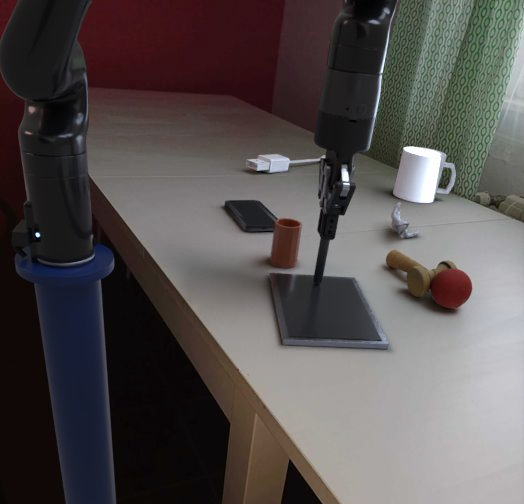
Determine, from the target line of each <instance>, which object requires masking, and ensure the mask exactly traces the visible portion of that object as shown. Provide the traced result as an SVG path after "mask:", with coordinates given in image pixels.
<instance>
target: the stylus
mask: <svg viewBox="0 0 524 504" xmlns="http://www.w3.org/2000/svg"><path fill="white" fill-rule="evenodd" d="M334 206H336V205H334ZM319 238H320V237H319ZM330 242H331V240H323V239H321V238H320V239H319V244H318V250H317V256H316V262H315V267H314V272H313V275H314V278H313V282H314V283H315V284H321V282H322V279H323V276H324V273H325V267H326V262H327V259H328V258H327V257H328V252H329V246H330Z"/></svg>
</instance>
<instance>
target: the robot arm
mask: <svg viewBox="0 0 524 504" xmlns="http://www.w3.org/2000/svg"><path fill="white" fill-rule="evenodd" d="M93 1H94V0H17V2H16V4H15V7H14V9H13V11H12V13H11V15H10V17H9V20H8V22H7V24H6V26H5V28H4V31H3V33H2V35H1V38H0V74H1V76H2V79H3V81H4V82H5V84H6V86H7V87H8V89H9V90H10V91H11V92H12V93H13V94H14V95H15V96H17V97H18V98H20V99H22V100H24V113H23V116H22V120H21V122H20V124H19V127H18V131H17V134H18V135H17V136H18V144H19V151H20V159H21V164H22V171H23V178H24V185H25V193H26V200H25V202H24V203H23V212H24V219H21V220H20V221H19V223H18V224H17V225H16V226H15V227H14V228H13V230H12V231H11V235H12V237H11V240H10V241H11V242H10V243H11V247H12V248H13V250H14V252H16V254H17V253H18V254H19V255H20V256H21V257H22V258H24V257H25V256H27V254H26V253H25V252H24V251H23V250H22V249H23V248H25V247H29V248H30V255H31V262H32V263H39V264H41V265H44V266H47V267H52V268H74V267H79V266H83V265H86V264H88V263H90V262H92V261H93V260H94V258H95V250H94V245H95V247H96V248H97V246H96V243H97V239H96V237H95V236H94V229H93V216H92V215H93V213H92V202H91V188H90V177H89V165H88V163H89V161H88V149H87V147H88V146H87V137H88V132H89V131H88V130H89V125H90V123H89V122H90V111H89V109H90V108H89V84H88V83H89V82H88V70H87V63H86V58H85V54H84V51H83V48H82V46H81V44H80V42H79V41H78V38H79V35H80V31H81V29H82V25H83V23H84V20H85V17H86V14H87V12H88V10H89V8H90V6H91V5H92V3H93ZM398 2H399V0H342V1H341V7H340V10H339V13H338V15H337V17H336V18H335V20H334V22H333V25H332V29H331V33H330V38H329V44H328V51H327V58H326V66H325V71H324V76H323V78H322V83H321V85H320V92H319V93H320V94H319V100H318V108H317V114H316V121H315V128H314V136H313V143H314V144H315V145H316V146H317V147H318V148H321V149H323V150H326V151H325V154H324V155H325V158H320V157H319V158H320V161H318V165H319V168H318V193H317V197H318V198H317V199H318V200H319V202H318V206H319V208H320V210H319V216H318V221H317V222H318V223H317V229H316V231H317V233H318V234H319V238H321V239H323V240H330V241H333V240H335V238H336V235H337V229H338V225H339V217H340V216H345V215H346V213H347V210H348V209H349V205H350V203H351V201H352V198H353V196H354V194H355V191H356V189H357V186H356V182H352V180H353V179H354V176H355V171H356V166H355V165H354V156H355V155H357V154H358V153H359V154H363V153H366V152H367V151H369V149H370V147H371V142H372V138H373V133H374V128H375V123H376V117H377V112H378V108H379V101H380V97H381V92H382V91H381V90H382V77H383V72H384V67H385V63H386V62H385V61H386V56H387V53H388V46H389V40H390V32H391V25H392V21H393V17H394V15H395V11H396V8H397V4H398ZM334 205H336V206H334ZM21 247H23V248H21Z"/></svg>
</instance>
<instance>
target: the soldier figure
mask: <svg viewBox="0 0 524 504" xmlns="http://www.w3.org/2000/svg"><path fill="white" fill-rule="evenodd" d="M401 204H402V203H401V202H397V203H395V206H394V207H393V209H392V212H391V215H390V217H391V220H392V221H391V223H390V226H391V228H392V229H393V231H394V232H395V233H398V236H399V237H400V236H402V237H404V238H405V239H409V238H413V237H417V236H419V235H420V231H418V230H417V231H415V232H412V233H409V231H408V227H409V226H410V222H408V218H407V217H403V218H401V210H402V208H400V207H401V206H400V205H401Z"/></svg>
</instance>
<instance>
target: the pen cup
mask: <svg viewBox="0 0 524 504" xmlns="http://www.w3.org/2000/svg"><path fill="white" fill-rule="evenodd" d="M302 229H303V224H302V222H301V221H299V220H297V219H293V218H290V217H289V218H287V217H280V218H278V219H277V220H275V223H274V231H272V240H271V248H270V258H269V259H270V263H271V265H272V266H275V267H277V268H282V269H291V268H295V267H296V266H297V263H298V257H299V252H300V242H301V236H302Z"/></svg>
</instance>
